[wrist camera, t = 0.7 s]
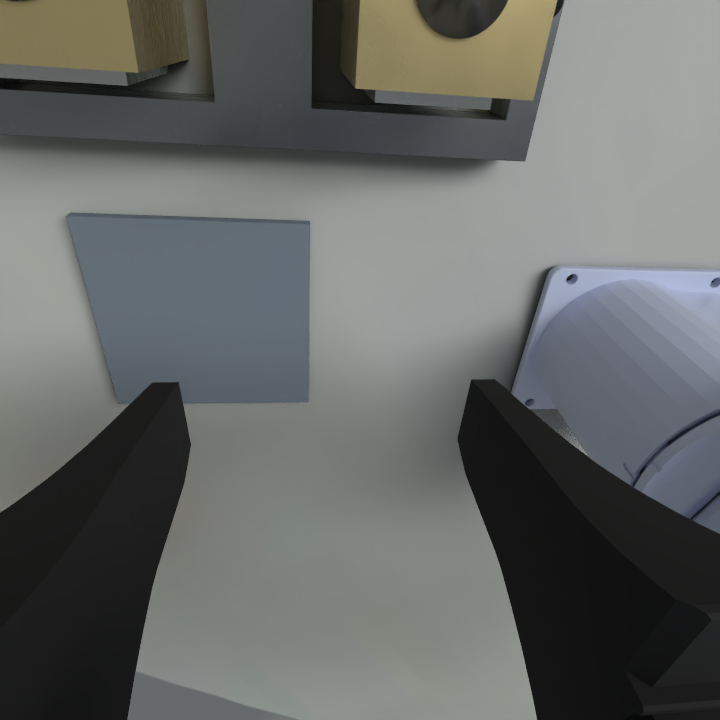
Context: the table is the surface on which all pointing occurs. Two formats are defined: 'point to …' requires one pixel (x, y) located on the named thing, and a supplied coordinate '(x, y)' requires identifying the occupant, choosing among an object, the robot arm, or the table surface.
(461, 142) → the grey flat rectangular frame
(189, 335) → the slate mat
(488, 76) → the gold drawer
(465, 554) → the table surface
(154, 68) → the gold knob block
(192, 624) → the table surface
